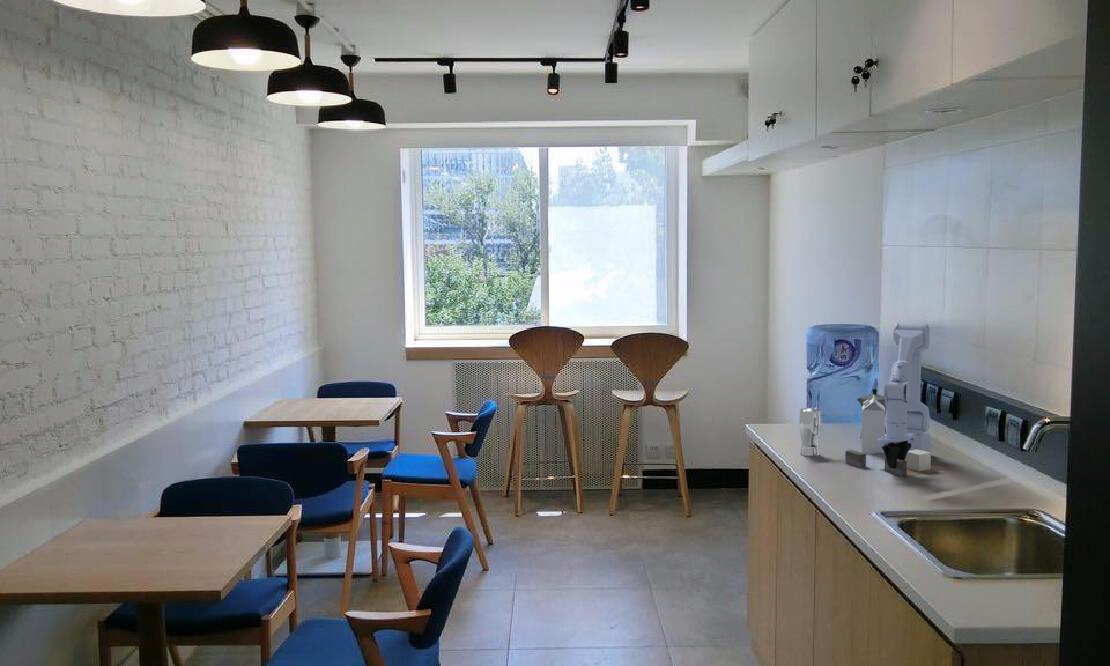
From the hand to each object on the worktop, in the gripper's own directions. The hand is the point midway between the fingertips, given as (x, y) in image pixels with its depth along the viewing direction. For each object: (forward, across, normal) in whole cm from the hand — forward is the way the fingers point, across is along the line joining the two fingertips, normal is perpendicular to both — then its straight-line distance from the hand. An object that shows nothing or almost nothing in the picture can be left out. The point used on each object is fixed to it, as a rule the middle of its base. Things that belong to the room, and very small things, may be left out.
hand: (895, 467), depth 266 cm
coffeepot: (+3, -34, -38) cm, 51 cm away
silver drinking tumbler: (+3, +1, -34) cm, 34 cm away
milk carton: (+3, -17, -24) cm, 29 cm away
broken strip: (+3, -5, -13) cm, 14 cm away
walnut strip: (+3, -8, 0) cm, 8 cm away
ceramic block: (+2, -10, 0) cm, 10 cm away
